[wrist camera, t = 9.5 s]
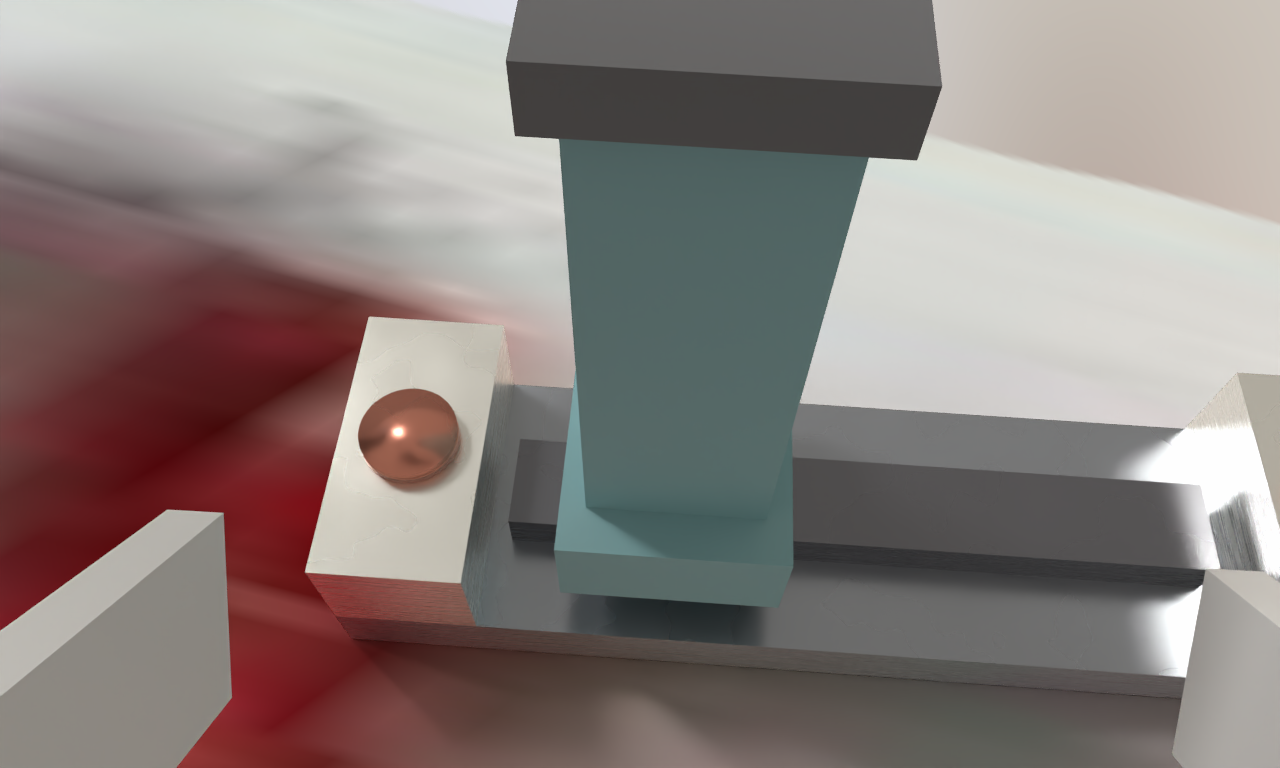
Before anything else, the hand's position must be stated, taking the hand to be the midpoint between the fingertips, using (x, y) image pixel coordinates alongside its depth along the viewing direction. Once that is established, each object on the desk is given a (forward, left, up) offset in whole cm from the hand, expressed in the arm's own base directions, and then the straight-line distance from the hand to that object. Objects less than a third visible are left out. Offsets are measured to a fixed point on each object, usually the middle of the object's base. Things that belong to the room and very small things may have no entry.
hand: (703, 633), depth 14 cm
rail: (0, +6, -9) cm, 11 cm away
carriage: (-4, +4, -7) cm, 8 cm away
